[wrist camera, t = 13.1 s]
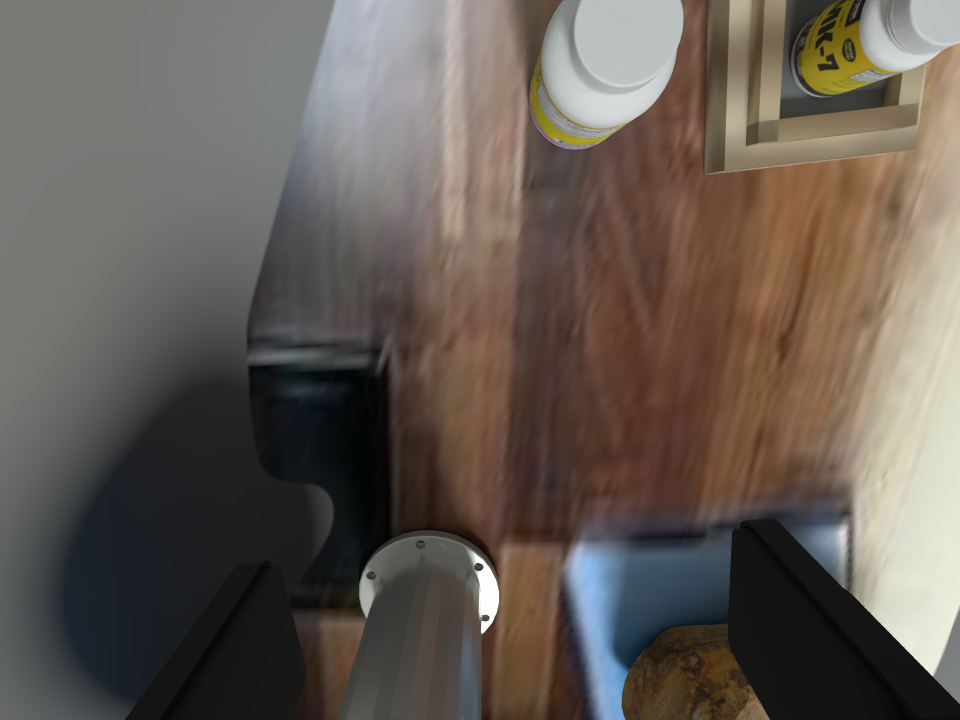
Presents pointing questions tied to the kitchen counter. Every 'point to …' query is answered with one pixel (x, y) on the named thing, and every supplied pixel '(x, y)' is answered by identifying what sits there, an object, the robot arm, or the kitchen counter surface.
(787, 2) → the plinth
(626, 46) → the supplement bottle
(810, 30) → the supplement bottle
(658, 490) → the kitchen counter surface
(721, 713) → the rough brown rock
